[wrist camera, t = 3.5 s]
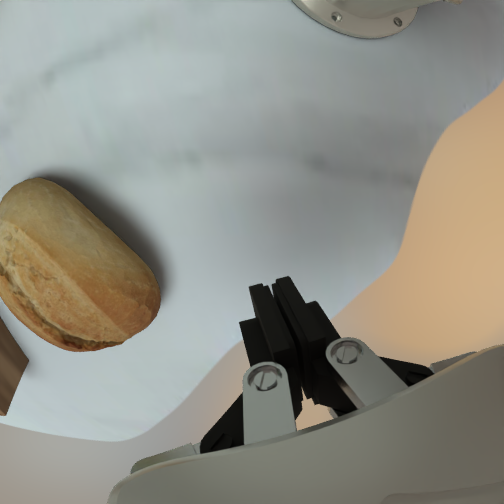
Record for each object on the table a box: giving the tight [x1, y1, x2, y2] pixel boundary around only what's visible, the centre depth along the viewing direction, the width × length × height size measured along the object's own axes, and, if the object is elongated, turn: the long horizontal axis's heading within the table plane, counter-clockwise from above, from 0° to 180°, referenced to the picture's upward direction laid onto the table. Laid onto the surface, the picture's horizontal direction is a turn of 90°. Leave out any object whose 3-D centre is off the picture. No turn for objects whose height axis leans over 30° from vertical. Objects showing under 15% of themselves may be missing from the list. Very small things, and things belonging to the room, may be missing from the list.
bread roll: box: [0, 178, 161, 352], centre depth 18 cm, size 10×15×8 cm, turn 45°
